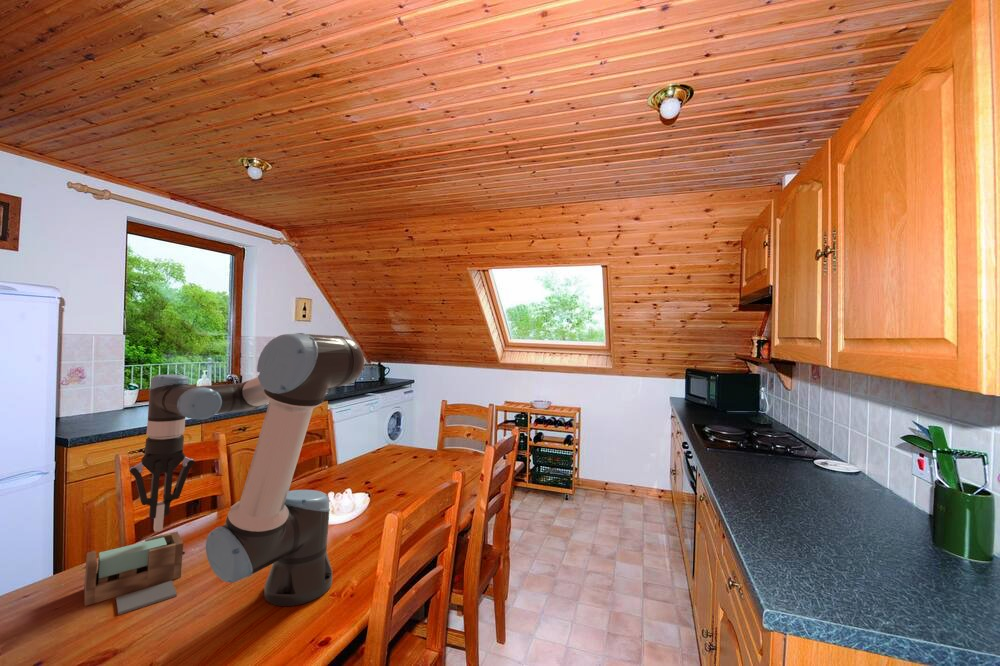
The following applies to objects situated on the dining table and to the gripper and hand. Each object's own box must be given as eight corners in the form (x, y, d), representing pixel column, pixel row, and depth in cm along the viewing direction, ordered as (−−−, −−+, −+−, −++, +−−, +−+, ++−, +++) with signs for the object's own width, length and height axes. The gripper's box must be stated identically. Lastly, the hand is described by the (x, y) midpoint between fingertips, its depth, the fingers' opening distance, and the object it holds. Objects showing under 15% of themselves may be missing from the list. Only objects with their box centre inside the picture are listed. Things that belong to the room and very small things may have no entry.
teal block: (162, 552, 105) (164, 537, 105) (165, 560, 102) (166, 544, 102) (97, 569, 96) (99, 552, 97) (98, 578, 93) (99, 561, 93)
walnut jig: (175, 563, 108) (177, 531, 109) (180, 577, 102) (183, 543, 103) (84, 589, 96) (86, 552, 96) (84, 606, 90) (87, 567, 90)
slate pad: (176, 596, 95) (176, 593, 95) (118, 615, 88) (118, 612, 88) (171, 582, 100) (171, 580, 100) (116, 599, 93) (116, 597, 93)
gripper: (194, 429, 110) (187, 517, 110) (129, 435, 101) (121, 531, 100) (200, 435, 105) (192, 527, 105) (132, 442, 96) (124, 543, 95)
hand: (158, 529), depth 103 cm, fingers closed
